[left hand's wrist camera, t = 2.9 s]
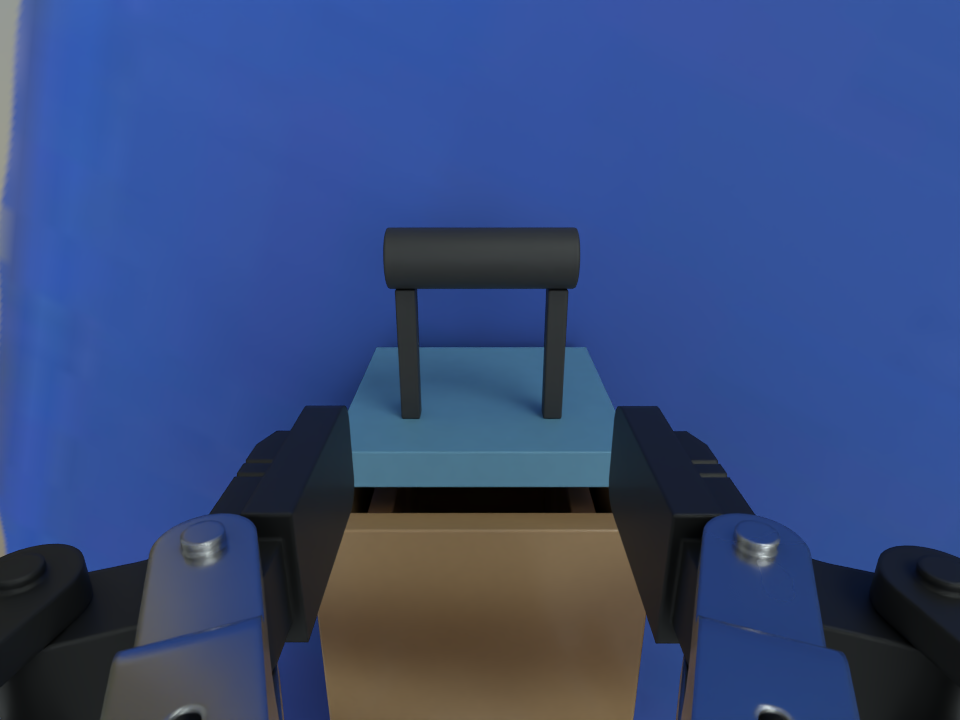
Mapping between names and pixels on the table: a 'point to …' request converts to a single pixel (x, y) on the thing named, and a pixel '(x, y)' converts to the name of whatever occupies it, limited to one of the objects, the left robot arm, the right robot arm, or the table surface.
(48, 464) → the table surface
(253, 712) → the left robot arm
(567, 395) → the drawer
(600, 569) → the wooden storage box
